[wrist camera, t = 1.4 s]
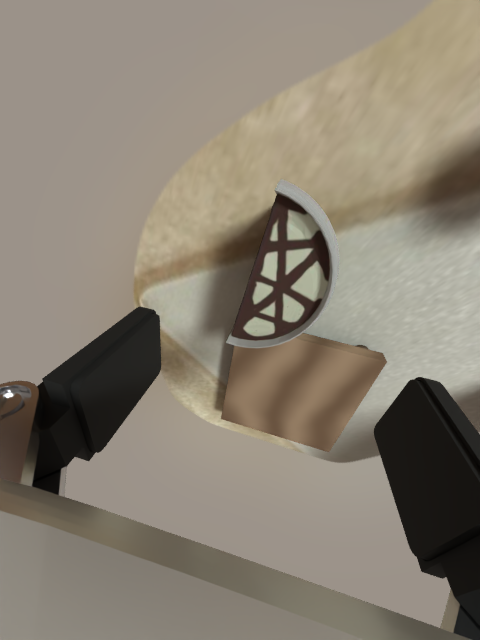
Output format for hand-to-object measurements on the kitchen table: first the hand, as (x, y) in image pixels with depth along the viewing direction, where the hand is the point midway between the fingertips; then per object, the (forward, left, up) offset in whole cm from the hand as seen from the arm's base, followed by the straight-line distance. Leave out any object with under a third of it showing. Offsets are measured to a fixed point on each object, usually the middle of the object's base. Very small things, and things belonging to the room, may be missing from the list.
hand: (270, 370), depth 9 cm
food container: (0, 0, -18) cm, 18 cm away
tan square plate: (-4, +16, -18) cm, 24 cm away
